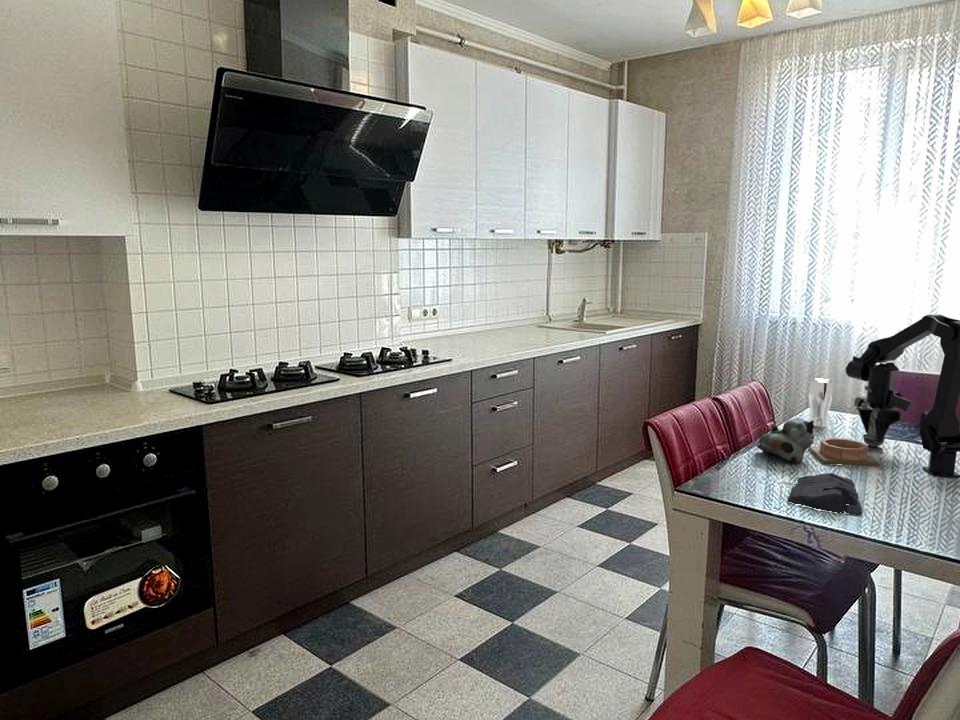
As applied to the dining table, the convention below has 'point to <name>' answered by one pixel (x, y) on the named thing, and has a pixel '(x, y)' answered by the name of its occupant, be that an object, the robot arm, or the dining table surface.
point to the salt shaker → (872, 438)
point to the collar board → (843, 453)
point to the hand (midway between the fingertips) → (873, 437)
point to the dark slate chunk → (826, 493)
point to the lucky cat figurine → (789, 440)
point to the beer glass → (820, 401)
